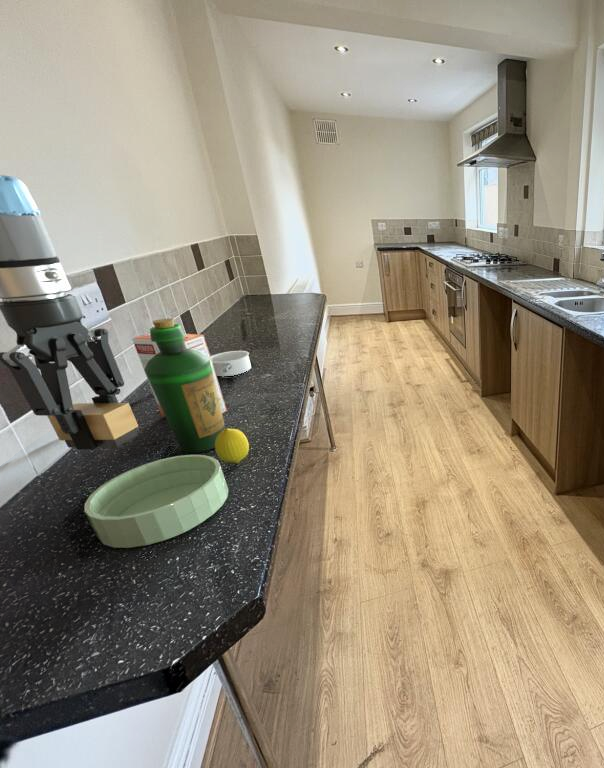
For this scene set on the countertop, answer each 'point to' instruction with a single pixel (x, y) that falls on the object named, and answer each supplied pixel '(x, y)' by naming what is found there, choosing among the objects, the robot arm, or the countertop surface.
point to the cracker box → (191, 341)
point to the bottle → (184, 389)
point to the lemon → (231, 445)
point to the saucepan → (231, 363)
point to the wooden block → (103, 423)
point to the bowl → (156, 501)
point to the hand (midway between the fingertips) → (102, 439)
